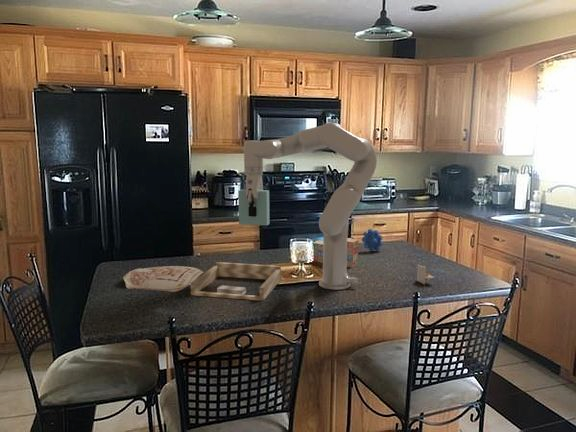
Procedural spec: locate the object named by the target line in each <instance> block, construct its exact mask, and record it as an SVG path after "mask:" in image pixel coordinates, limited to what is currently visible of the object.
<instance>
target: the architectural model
mask: <svg viewBox="0 0 576 432" xmlns="http://www.w3.org/2000/svg"><path fill="white" fill-rule="evenodd" d="M426 267H427V266H426V265H425V266H423V265H420V264H417V269H416V271H417V273H416V281H417V282H419V283H421V284H423V285H426V280H428V279H435V276H433V275H431V274H430V273H429V272H427V270H428V268H426Z"/></svg>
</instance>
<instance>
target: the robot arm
mask: <svg viewBox="0 0 576 432" xmlns="http://www.w3.org/2000/svg"><path fill="white" fill-rule="evenodd" d="M325 148H329V149H330V150H332V151H334V152H336V153H338V154H339V155H341V156H343V157H344V158H346V159H348V160H350V161H352V162H353V164H352V167H351V169H350V170H349V172H348V174H347V176H346V178H345V180H344V181H343V183H342V184H341V185H340V186H339V187H338V188H337V189H336V190H335V191H334V192H333V194H332V195H331V196H330V199H329V200H328V202H327V205H326V206H325V207H324V210H323V212H322V213H321V215H320V217H319V220H318V226H319V227H318V228H319V230H320V232H322V234H323V240H322V241H323V263H322V279H321V280H319V282H318V285H319V287H320V288H323V289H325V290H326V289H327V290H331V291H333V290H335V291H340V290H346V289H348V288H350V287H351V283H353V284H358V280H359V279H358V278H357V277H356V276H350V275H349V273H348V272H347V270H348V267H347V238H349V237H348V235H349V222H350V221H349V220H350V219H349V218H350V217H351V215H352V214H353V211H354V209H355V208H356V207H357V206H358V204H359V203H360V201H361V199H362V196H363V195H364V192H365V191H366V189H367V187H368V185H369V183H370V182H371V179H372V178H373V175H374V173H375V170H376V169H377V162H378V161H377V153H376V150H375V148H374V146H373V145H372V143H371V142H370V141H369V140H368V139H367V138H363V137H357V136H356V135H355V134H352V133H350V132H349V131H347V130H345V129H344V127H343V126H342V125H341V124H339V123H337V122H326V123H324V124H322V125H318V126H316V127H311V128H308V129H303V130H300V131H298V132H297V133H295V134H292V135H289V136H286V137H282V138H281V137H280V138H277V139H276V138H275V139H267V140H266V139H265V140H251V139H250V140H246V141H244V143H243V165H244V173H243V174H244V176H245V190H246V198H247V199H248V207H249V216H253V217H256V207H255V206H256V200H257V199H259V191H261V190H264V185H263V175H264V173H263V172H264V169H263V166H264V160H263V159H265V160H273V159H277V158H279V159H280V158H282V157H283V158H284V157H287V156H291V155H295V154H300V153H308V152H312V151H317V150H321V149H325ZM252 198H254V199H252ZM253 201H254V203H253Z"/></svg>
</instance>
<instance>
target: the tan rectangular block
mask: <svg viewBox="0 0 576 432" xmlns="http://www.w3.org/2000/svg"><path fill="white" fill-rule="evenodd" d="M312 243H313V246H314V261H313V263H314V262H315V263H319V262H320V264H323V240H316V241H313V242H312ZM359 243H360V242H359V239H355V238H351V237H347V268H355V267H356V266H358V265H359Z"/></svg>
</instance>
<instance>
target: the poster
mask: <svg viewBox="0 0 576 432" xmlns="http://www.w3.org/2000/svg"><path fill="white" fill-rule="evenodd" d="M204 273H205V272H204V271H203V270H201V269H199V268H196V267H192V266H182V265H181V266H179V265H178V266H177V265H176V266H175V265H170V266H167V265H166V266H154V267H144V268H143V267H142V268H135V269H133V270H131V271H128V272H127V273H126V274H125V275H124V276H123V277H122V280H123V281H124V283H125V287H126V288H127V289H135V288H136V290H137V289H139V290H149V291H150V290H151V291H154V290H155V291H164V292H165V291H166V292H171V293H174V292H175V293H176V292H179V291H183V289H185V288H187V287H188V286H191V282H192V281H194V280H195V279H197V278H198V277H199V276H201V275H202V274H204Z"/></svg>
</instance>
